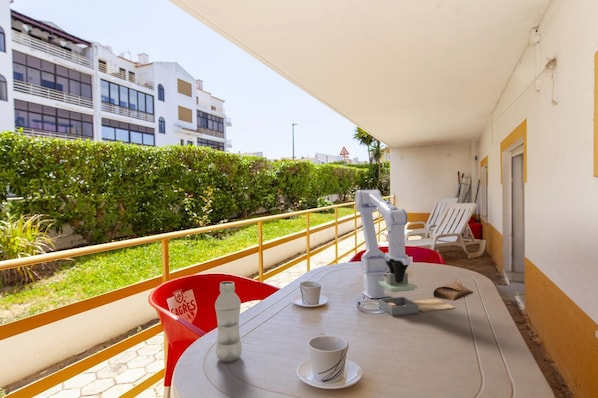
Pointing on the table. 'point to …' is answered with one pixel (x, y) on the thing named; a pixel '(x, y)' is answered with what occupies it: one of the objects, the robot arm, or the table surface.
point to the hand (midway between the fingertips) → (397, 281)
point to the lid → (397, 284)
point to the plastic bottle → (228, 323)
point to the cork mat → (431, 304)
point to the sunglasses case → (451, 291)
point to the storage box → (398, 306)
